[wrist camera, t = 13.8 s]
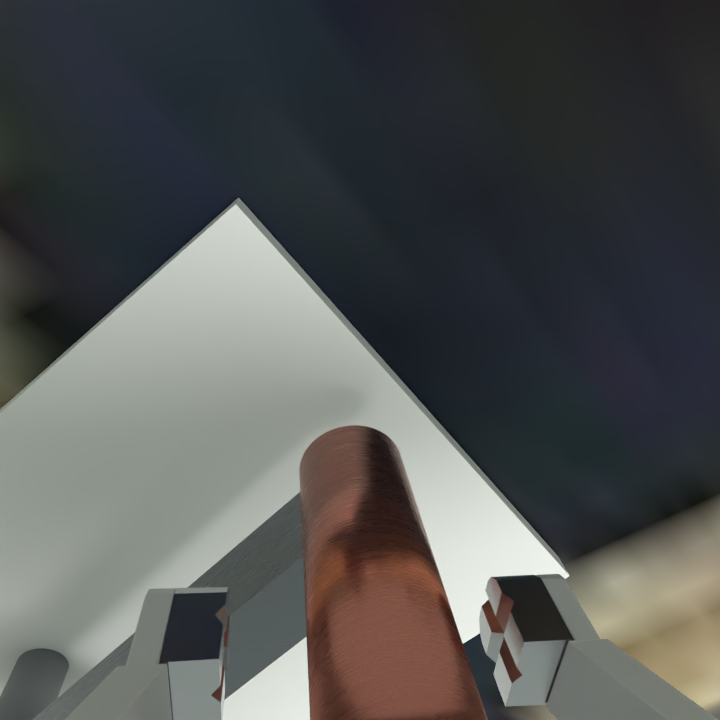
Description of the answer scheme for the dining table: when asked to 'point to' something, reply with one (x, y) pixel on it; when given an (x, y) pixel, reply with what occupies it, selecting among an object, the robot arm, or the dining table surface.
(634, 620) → the dining table surface
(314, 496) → the lever
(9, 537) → the board
